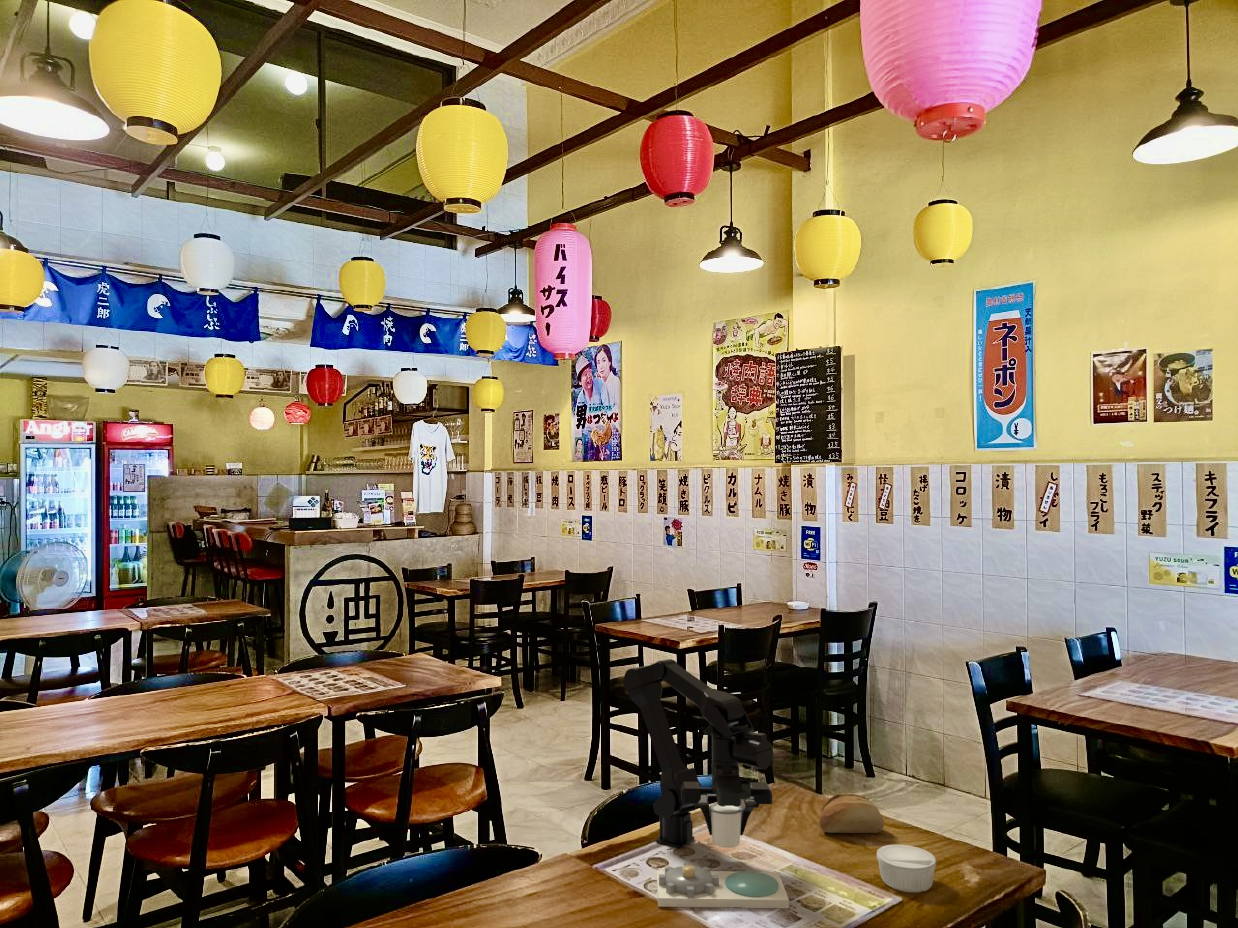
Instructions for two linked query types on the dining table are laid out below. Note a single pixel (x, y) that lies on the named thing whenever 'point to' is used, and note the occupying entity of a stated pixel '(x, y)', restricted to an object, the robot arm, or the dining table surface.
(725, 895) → the gear board
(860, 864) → the dining table surface
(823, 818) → the bread roll
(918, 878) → the ramekin
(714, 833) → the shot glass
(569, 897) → the dining table surface
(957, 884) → the dining table surface
